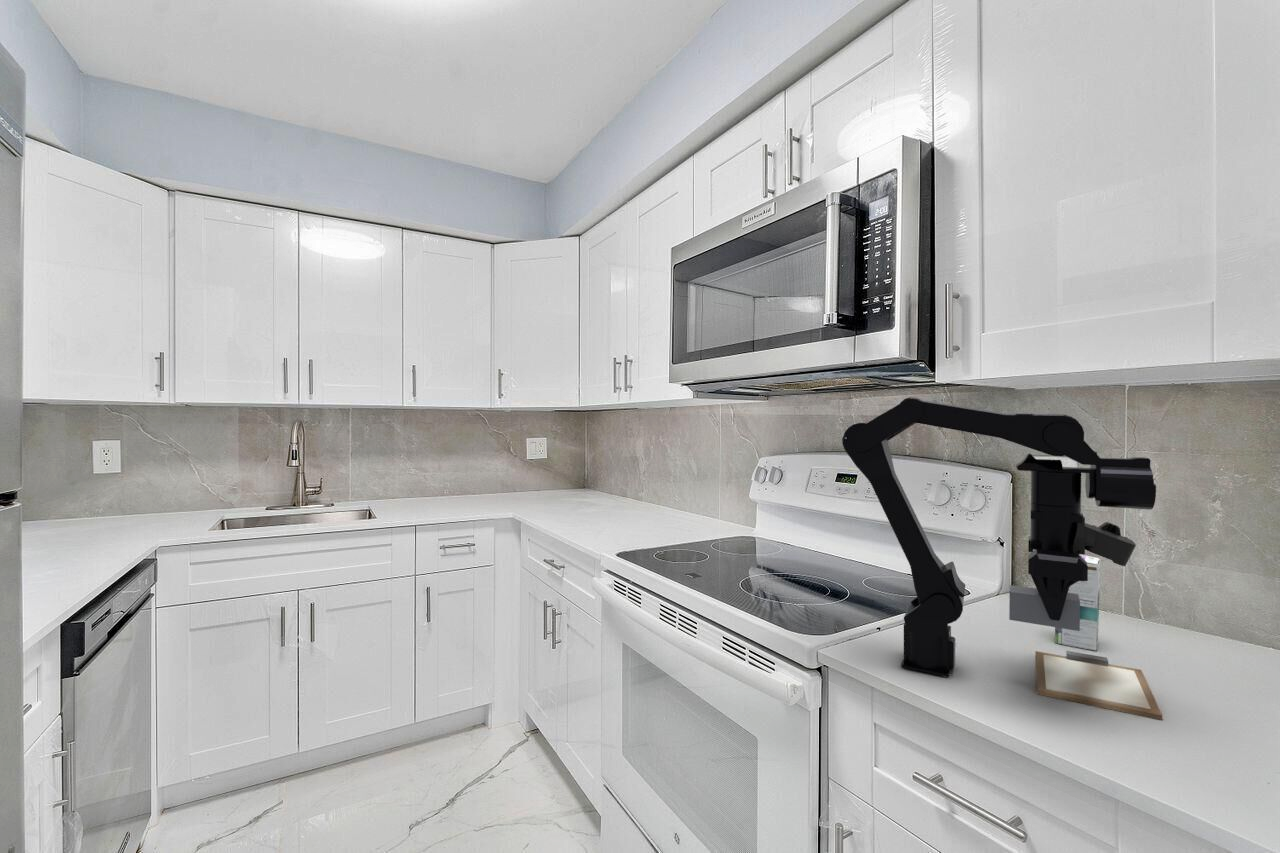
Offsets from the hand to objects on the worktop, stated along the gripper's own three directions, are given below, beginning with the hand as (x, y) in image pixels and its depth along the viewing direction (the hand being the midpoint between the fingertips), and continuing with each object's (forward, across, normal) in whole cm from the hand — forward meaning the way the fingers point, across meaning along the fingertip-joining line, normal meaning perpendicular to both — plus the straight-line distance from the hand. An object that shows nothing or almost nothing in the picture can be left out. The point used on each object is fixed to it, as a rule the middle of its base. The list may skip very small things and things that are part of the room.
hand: (1054, 615), depth 82 cm
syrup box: (+11, +23, -4) cm, 26 cm away
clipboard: (+10, +5, -5) cm, 13 cm away
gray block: (+1, 0, 0) cm, 1 cm away
